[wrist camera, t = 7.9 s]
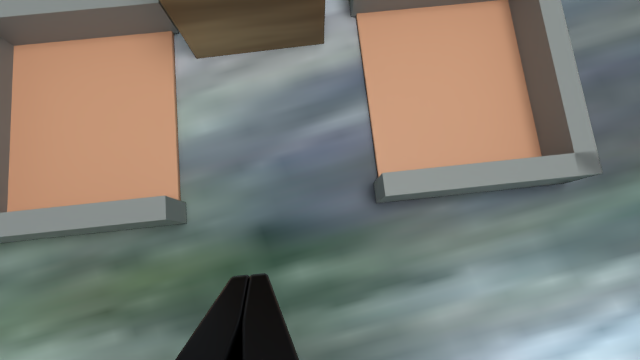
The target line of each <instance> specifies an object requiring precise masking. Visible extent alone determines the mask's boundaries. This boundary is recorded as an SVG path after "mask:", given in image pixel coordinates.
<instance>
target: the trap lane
mask: <svg viewBox="0 0 640 360" xmlns="http://www.w3.org/2000/svg"><path fill="white" fill-rule="evenodd" d="M349 2H350V10H351V17H356V19H357V26H358V34H359V41H360V48H361V56H362V63H363V70H364V78H365V85H366V92H367V100H368V107H369V114H370V122H371V129H372V137H373V144H374V151H375V159H376V166H377V173H378V179H377V180H376V181H375V182H374V189H375V196H376V203H383V202H392V201H402V200H411V199H421V198H430V197H440V196H449V195H458V194H468V193H477V192H487V191H496V190H506V189H515V188H524V187H534V186H543V185H553V184H562V183H568V182H571V181H575V180H579V179H583V178H587V177H591V176H594V175H598V174H602V173H603V172H602V168H601V164H600V160H599V156H598V152H597V148H596V143H595V139H594V135H593V131H592V127H591V123H590V119H589V115H588V111H587V107H586V102H585V98H584V94H583V90H582V86H581V82H580V78H579V74H578V70H577V66H576V61H575V57H574V53H573V49H572V45H571V41H570V37H569V33H568V29H567V25H566V20H565V16H564V12H563V8H562V4H561V0H349ZM175 33H178V29H177V27H176V25H175V24H174V22H173V21H172V19H171V18H170V16H169V15H168V13H167V11H166V10H165V8H164V7H163V5H162V4H161V2H160V1H159V0H0V243H6V242H15V241H24V240H34V239H43V238H53V237H62V236H72V235H81V234H90V233H100V232H109V231H119V230H128V229H138V228H147V227H156V226H166V225H175V224H185V223H187V217H186V203H185V202H183V201H181V199H180V175H179V151H178V127H177V103H176V79H175V55H174V34H175Z"/></svg>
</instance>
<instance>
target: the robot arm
mask: <svg viewBox="0 0 640 360" xmlns="http://www.w3.org/2000/svg"><path fill="white" fill-rule="evenodd" d="M175 360H299V358H298V356H297V353H296V350H295V347H294V345H293V342H292V339H291V337H290V334H289V331H288V329H287V326H286V323H285V320H284V318H283V315H282V312H281V310H280V307H279V304H278V302H277V299H276V296H275V293H274V291H273V288H272V285H271V283H270V280H269V277H268V275H267V274H265V273H264V274H253V275H251V276H250V277H249V276H248V275H242V276H233V277H232V278H231V279H230V280H229V282H228V283H227V284H226V286H225V287H224V289H223V290H222V292H221V293H220V295H219V296H218V298H217V299H216V301H215V302H214V304H213V305H212V307H211V308H210V309H209V311H208V312H207V314H206V315H205V317H204V318H203V320H202V321H201V323H200V324H199V326H198V327H197V329H196V330H195V332H194V333H193V334H192V336H191V337H190V339H189V340H188V342H187V343H186V345H185V346H184V348H183V349H182V351H181V352H180V354H179V355H178V357H177V358H176V359H175Z"/></svg>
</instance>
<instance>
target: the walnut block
mask: <svg viewBox="0 0 640 360" xmlns="http://www.w3.org/2000/svg"><path fill="white" fill-rule="evenodd" d="M159 1H160V2H161V4H162V5H163V7H164V8H165V10H166V11H167V13H168V15H169V16H170V18H171V19H172V21H173V22H174V24H175V25H176V27H177V29H178V30H179V32H180V33H181V35H182V36H183V38H184V39H185V41H186V43H187V44H188V46H189V47H190V49H191V50H192V52H193V53H194V55H195V57H196V58H206V57H214V56H223V55H231V54H240V53H248V52H257V51H265V50H274V49H282V48H290V47H299V46H307V45H316V44H324V19H325V0H159Z"/></svg>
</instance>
